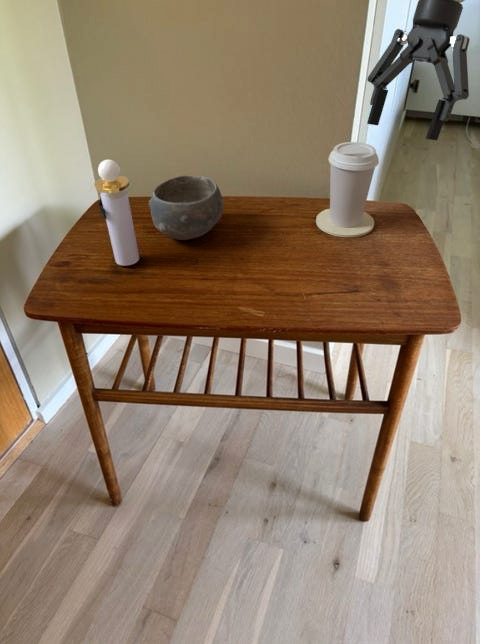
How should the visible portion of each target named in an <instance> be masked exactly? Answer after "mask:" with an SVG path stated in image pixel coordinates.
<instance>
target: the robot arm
mask: <svg viewBox="0 0 480 644" xmlns="http://www.w3.org/2000/svg"><path fill="white" fill-rule="evenodd" d="M465 1H466V0H418V1H417V4H416V7H415V9H414V10H415V11H414V13H413V18H412V27H411V30H410V31H409V32H407V31H405V30H403V29H400V28H397V29H395V30H394V33H393V36H392V37H391V42H390V43H389V44H388V46H387V47H386V49H385V50H384V52H383V54H382V55H381V57H380V58H379V59H378V61H377V62H376V64H375V66H374V67H373V69H371V72H370V73H369V75H368V76H367V78H366V80H367V82H368V83H370V84H371V85H372V86H373V90H372V94H371V98H370V101H369V105H370V106H371V108H370V111H369V114H368V118H367V122H366V124H367V125H371V126H379V125H380V120H381V118H382V113H383V110H384V107H385V103H386V100H387V98H388V93H389V90H388V86H389V85H390V83H392V82H393V81H394V80H395V79H396V78H397V77H398V76H399V75H400V74H401V73H402V72H403V71H404V70H405V69H406V68H407V67H408V66H409V65H411V64H413V63H414V62H419V63H423V62H425V63H428V64H432V65H433V67H434V70H435V73H436V76H437V80H438V83H439V86H440V90H441V92H442V95H443V97H442V98H441V99H438V101H437V104H436V106H435V110H434V112H433V116H432V119H431V121H430V125H429V127H428V130H427V133H426V136H425V139H426V140H431V141H438V140H439V137H440V134H441V130H442V128H443V125H444V123H445V122H448V121H449V119H450V117H451V114H452V112H453V109H454V106H455V103H456V102H458V101H461V100H467V99H468V98H469V95H470V91H469V90H470V89H469V72H468V71H469V70H468V48H469V45H470V37H469V36H467V35H463V34H457V35H456V36H454V32H455V30H456V29H457V27H458V24H459V22H460V18H461V16H462V12H463V9H464V7H463V4H462V3H463V2H465ZM406 44H407V46H406V47H405V48H404V46H405V45H406ZM450 47H451V50H452V66H453V67H452V69H453V77H452V73H451V70H450V67H449V59H448V56H447V53H446V51H447V50H449V49H450ZM403 48H404V49H403ZM402 49H403V50H402Z"/></svg>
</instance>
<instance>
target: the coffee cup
mask: <svg viewBox="0 0 480 644" xmlns="http://www.w3.org/2000/svg"><path fill="white" fill-rule="evenodd" d="M327 159H328V160H327V161H328V163H329V164H330V177H329V179H330V180H329V182H330V183H329V208H330V222H331V223H332V224H334V225H336V226H338V227H343V228H352V227H356V226H358V225H359V224H360V223H361V219H362V216H363V212H365V207H366V204H367V201H368V196H369V192H370V189H371V186H372V185H371V184H372V180H373V177H374V173H375V171H376V170H375V169H376V167H377V166H378V165H379V163H380V161H379V159H380V158H379V155H378V153H377V149H376V148H375V146H372V145H370V144H368V143H366V142H365V143H364V142H359V141H345V142H341V143H339V144H337V145H335V146H334V147H333V150H332V151H331V152H330V154H329V155H328V158H327Z"/></svg>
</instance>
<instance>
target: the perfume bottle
mask: <svg viewBox="0 0 480 644" xmlns="http://www.w3.org/2000/svg"><path fill="white" fill-rule="evenodd" d="M97 173H98V176H99V177H100V178H98V179H97V180H95V181H94V184H93V185H94V190H95V191H97V192H98V193H100V196H99V201H98V207H99V212H100V215H101V217H102V218H103V219H104V222H105V223H106V226H107V230H108V235H109V240H110V243H111V249H112V252H113V257H114V261H115V263H116V264H117V265H119V266H123V267H127V266H131V265H134V264H136V263H138V261H139V260H140V253H139V247H138V242H137V235H136V231H135V225H134V220H133V215H132V210H131V205H130V199H129V195H128V190H127V188H129V186H130V180H129V178H128V177H127V176H124V175H121V167H120V165H119V164H118V162H116V161H115V160H113V159H111V158H110V159H104V160H102V161H101V162H99V164H98V167H97Z"/></svg>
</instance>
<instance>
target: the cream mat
mask: <svg viewBox="0 0 480 644" xmlns="http://www.w3.org/2000/svg"><path fill="white" fill-rule="evenodd" d="M315 223H316V226H317V227H318V229H319V230H321V231H322V232H324V233H325V234H328V235H331V236H334V237H339V238H348V239H349V238H359V237H362V236H365V235H367V234H370V232H372V231H373V229H374V226H375V220H374V218H373V217H372V216H371V215H370V214H369V213H367V212H366V211H364V212H363V216H362V219H361V223H360V224H359V225H358V226H356V227H352V228H343V227H338V226H336V225H334V224H332V223H331V222H330V207H329V208H325V209H324V210H322V211H321V212H319V213H318V214H317V216H316V219H315Z"/></svg>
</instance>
